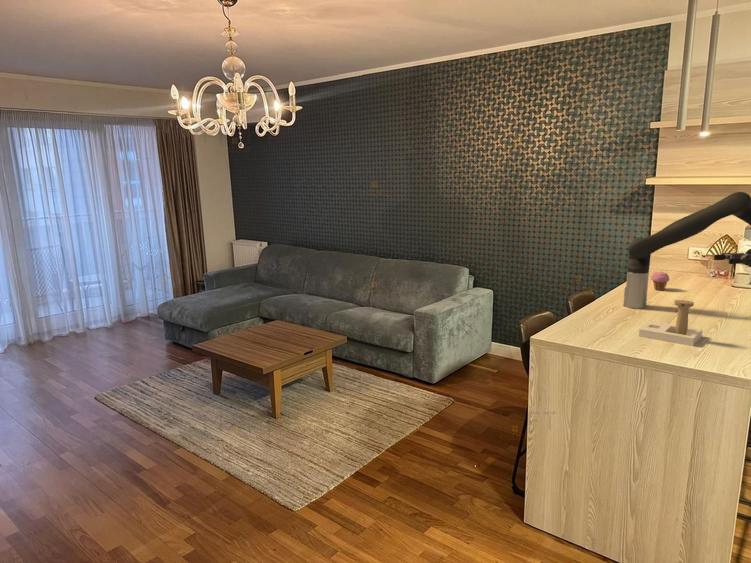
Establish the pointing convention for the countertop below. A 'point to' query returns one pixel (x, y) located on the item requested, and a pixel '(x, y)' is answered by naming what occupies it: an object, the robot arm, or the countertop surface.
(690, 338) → the plate
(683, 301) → the handle
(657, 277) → the cupcake
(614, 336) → the countertop surface
